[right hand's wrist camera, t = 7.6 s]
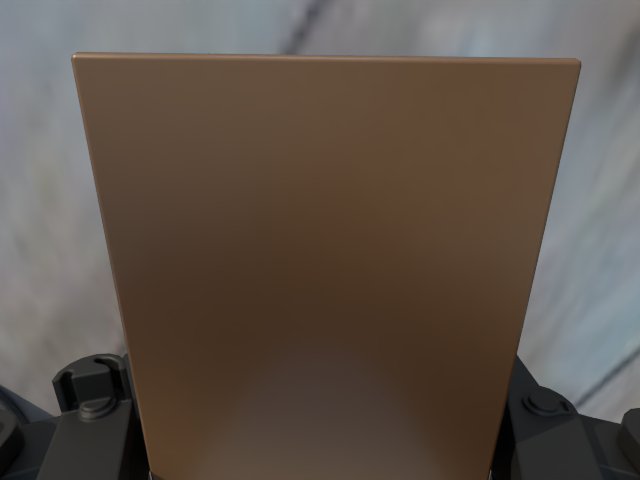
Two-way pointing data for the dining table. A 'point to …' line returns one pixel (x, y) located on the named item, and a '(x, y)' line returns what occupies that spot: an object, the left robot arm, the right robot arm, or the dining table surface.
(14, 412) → the left robot arm
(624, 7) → the dining table surface
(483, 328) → the beam
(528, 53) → the dining table surface
